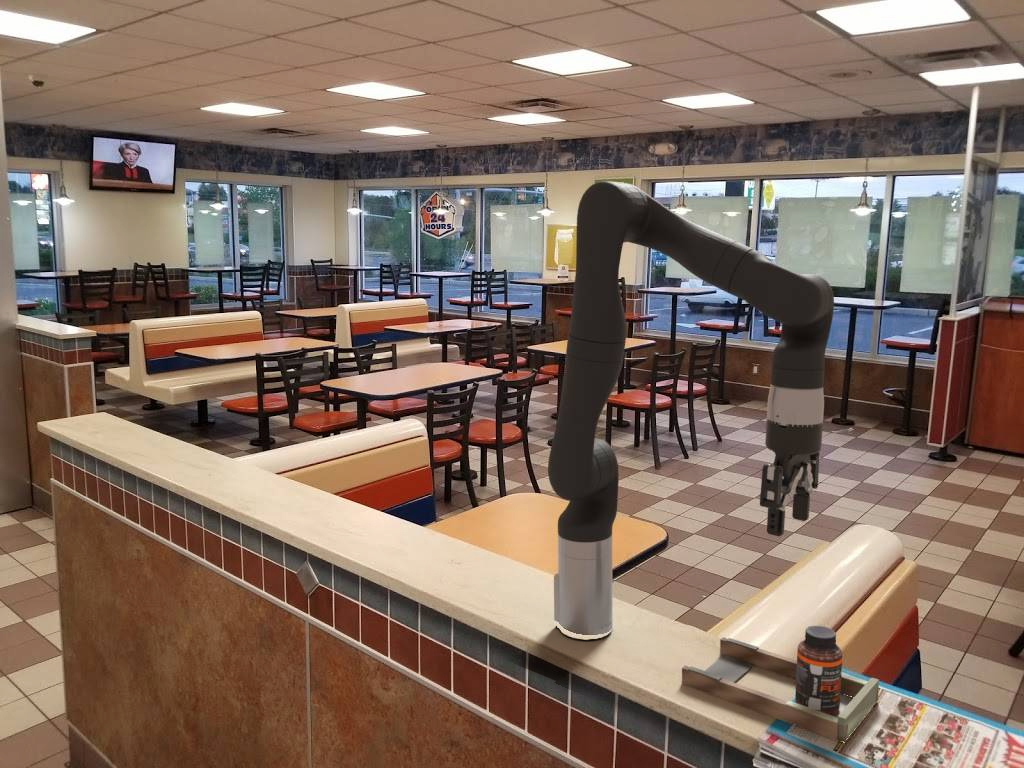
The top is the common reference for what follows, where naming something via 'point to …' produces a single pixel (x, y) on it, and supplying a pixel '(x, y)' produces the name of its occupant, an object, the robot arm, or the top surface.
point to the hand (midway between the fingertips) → (787, 526)
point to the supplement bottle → (819, 670)
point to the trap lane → (742, 660)
